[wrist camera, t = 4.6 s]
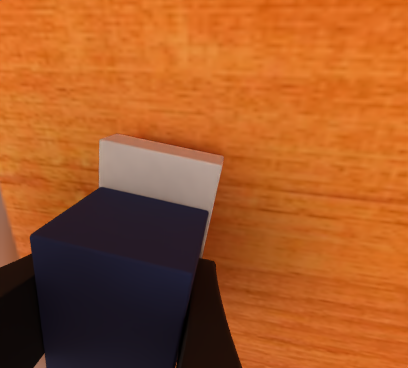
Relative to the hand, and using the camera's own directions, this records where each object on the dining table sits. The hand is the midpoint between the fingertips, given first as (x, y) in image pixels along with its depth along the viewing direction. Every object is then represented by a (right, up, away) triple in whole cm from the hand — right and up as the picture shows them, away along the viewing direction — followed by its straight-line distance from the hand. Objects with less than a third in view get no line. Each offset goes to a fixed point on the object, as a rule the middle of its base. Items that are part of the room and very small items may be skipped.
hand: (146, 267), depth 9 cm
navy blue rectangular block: (0, 0, +1) cm, 1 cm away
